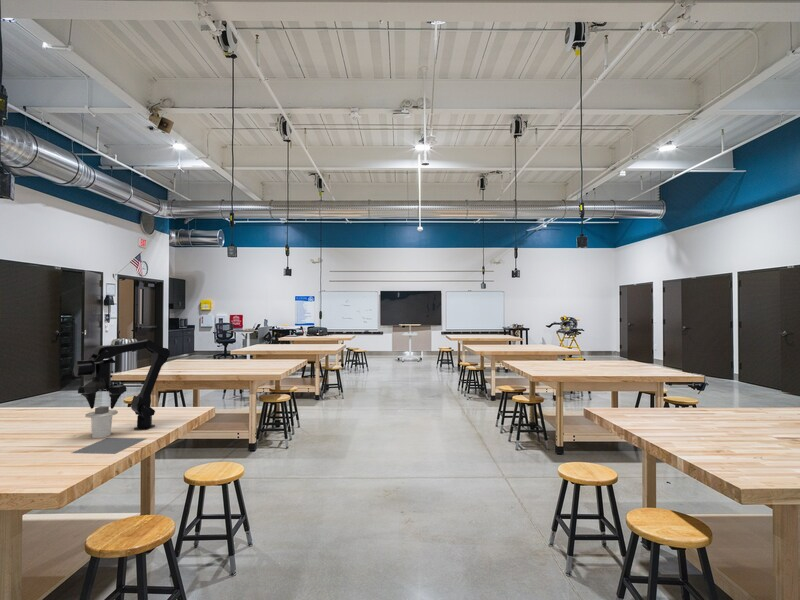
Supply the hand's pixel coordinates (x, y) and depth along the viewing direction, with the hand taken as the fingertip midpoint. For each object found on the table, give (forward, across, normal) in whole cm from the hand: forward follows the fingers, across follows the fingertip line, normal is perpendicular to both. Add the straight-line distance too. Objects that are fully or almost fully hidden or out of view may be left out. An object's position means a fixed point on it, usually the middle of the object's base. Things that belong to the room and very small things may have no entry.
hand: (102, 408), depth 190 cm
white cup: (+13, 0, 0) cm, 13 cm away
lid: (+3, 0, 0) cm, 3 cm away
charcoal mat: (+12, +14, -13) cm, 23 cm away
